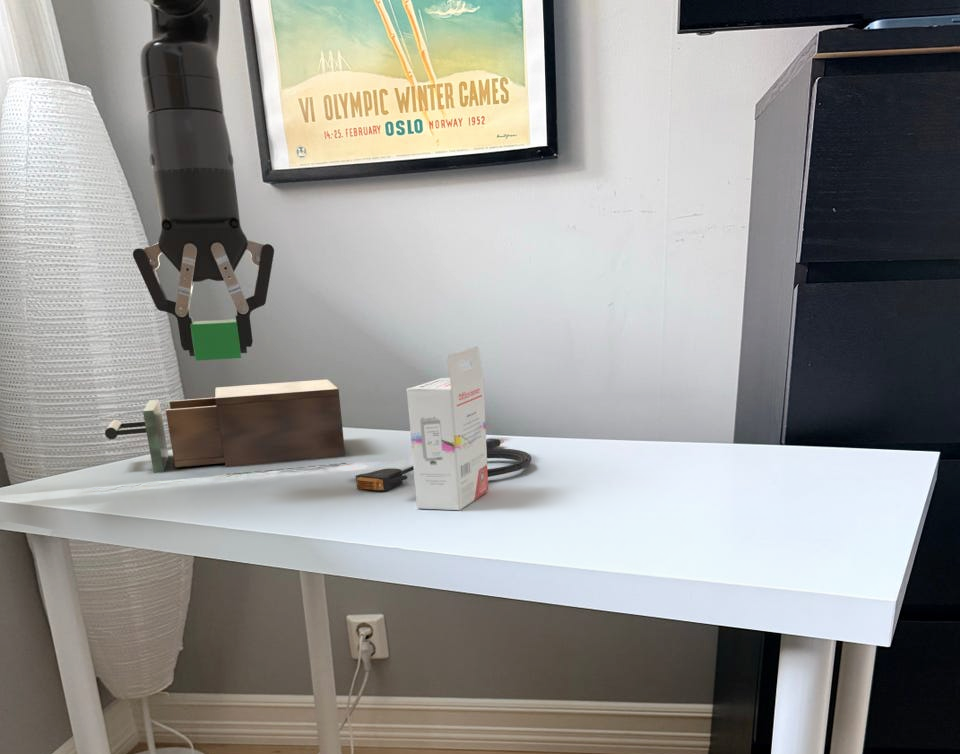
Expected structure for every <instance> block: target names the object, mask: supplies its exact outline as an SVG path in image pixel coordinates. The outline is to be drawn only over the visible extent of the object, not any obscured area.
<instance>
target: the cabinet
mask: <svg viewBox="0 0 960 754" xmlns="http://www.w3.org/2000/svg"><path fill="white" fill-rule="evenodd" d="M214 393H215V394H214V395H215V396H214V397H215V400H216V407H217V413H218V420H219V427H220V434H221V441H222V447H223V454H224V461H225V463H224V467H225V468H232V467H233V468H234V467H241V466H254V465H255V466H256V465H265V464H275V463H276V464H277V463H286V462H297V461H308V460H309V461H310V460H319V459H329V458H331V459H332V458H339V457H340V458H341V457H346V449H345V439H344V428H343V419H342V417H343V416H342V408H341V397H340V389H339V388H338V387H337V386H336V385H334V383H333V382H332V381H330V380H329V379H314V380H313V379H312V380H300V381H299V380H298V381H285V382H273V383H260V384H259V383H258V384H245V385H233V386H231V385H230V386H221V387H220V386H217V387H215V392H214ZM343 464H347V463H346V462H344V463H343V462H342V463H341V465H343ZM333 465H334V466H335V465H336V463H332V464H330V466H333ZM324 466H325V464H322V465H320V467H324ZM312 467H315V465H310V466H309V468H312ZM301 468H303V469H304V467H303V466H300V467H298V469H301ZM290 469H293V467H289V468H288V470H290ZM280 470H283V468H280V469H277V471H280ZM268 471H270V472H271V471H272V469H268V470H266V472H268ZM260 472H261V470H259V471H258V470H257V471H256V473H260ZM248 473H249V474H250V473H251V471H247V472H245V474H248ZM236 474H240V472H239V473H238V472H235V473H234V475H236ZM226 475H229V473H226Z"/></svg>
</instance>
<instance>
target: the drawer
mask: <svg viewBox="0 0 960 754" xmlns="http://www.w3.org/2000/svg"><path fill="white" fill-rule="evenodd" d="M142 414H143V415H142V416H143V421H142V420H140V421H129V422H127V421H126V422H122V421H120V420H119V419H113V420H112V421H111V423H110V424H109V425H108V426H107V428H106V429H105V430H104V435H105V437H106V438H107V439H108V440H115V439H116V438H117V437H118V436H124V435H138V434H146V438H147V443H148V448H149V454H150V460H151V465H152V471H153V474H156V473H164V472H165V470H166V466H167V463H168V459H169V456H170V455H169V450H168V444H167V438H166V432H165V426H164V421H163V414H162V409H161V404H160V399H149V401H148V402H147V404H146V405H145V407H144V408H143V410H142ZM165 415H166V420H167V421H166V422H167V427H168V433H169V438H170V445H171V451H172V457H173V461H174V462H173V463H174V467H175V468H185V467H196V466H207V465H218V464H225V461H224V454H223V447H222V441H221V434H220V427H219V420H218V413H217V407H216V400H215V396H214V397H203V398H190V399H177V400H169V409H165Z"/></svg>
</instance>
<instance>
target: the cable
mask: <svg viewBox="0 0 960 754" xmlns="http://www.w3.org/2000/svg"><path fill="white" fill-rule="evenodd" d="M504 443H505V441H504V439H501V438H486V448H487V459H503V460H513V461H516V463H513V464H510V465H505V466H500V467H494V468H487V472H488V478H491V477H496V476H501V475H506V474H511V473H514V472H518V471H520V470H522V469H524V468H526V467H527V466H528V465H530V464H531V462H532V455H531V454H529V453H528V452H526V451H523V450H520V449H514V448H513V449H512V448H497V447H500V446H501V444H504ZM413 471H414V467H413V465H412V466H410V467H408V468H405V469H403V470H402V468H395V467H393V468H391V467H390V468H389V467H388V468H383V469H378V470H374V471H370V472H365V473H360V474H356V475H355V481H356V482H355V484H356V489H357V490H366V491H372V492H383V493H384V492H385V493H386V492H388V491H390V490H392V489H394V488H396V487H398V486H401V485H402V484H404V483H403V481H406V480H408V476H407V475H406V474H407V473H410V472H413Z"/></svg>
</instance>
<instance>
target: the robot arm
mask: <svg viewBox="0 0 960 754" xmlns="http://www.w3.org/2000/svg"><path fill="white" fill-rule="evenodd" d="M144 2H147V3H148V4H149V6H150V13H151V39H152V40H150V41H148V42H146V43H145V44H144V45H143V47H142V49H141V51H140V55H139V58H140V62H139V63H140V74H141V75H140V76H141V81H142V89H143V94H144V95H143V96H144V102H145V103H144V104H145V109H146V114H147V128H148V130H147V133H148V134H147V135H148V147H149V154H150V155H149V161H150V166H151V168H152V173H153V174H152V175H153V181H154V187H155V188H154V189H155V195H156V200H157V208H158V214H159V220H160V234H159V237H158V240H157V243H155V244H152V245H149V246H146V247H143V248H140V247H139V248H135V249H134V250H133V252H132V257H133V259H134V262H135V264H136V266H137V269H138V271H139V274H140V276H141V277H142V280H143V281H144V284H145V286H146V289H147V290H148V293H149V295H150V297H151V299H152V301H153V303H154V307H155V308H156V309H157V310H158V311H160V312H163V313H168V314H171V315H173V316H174V317H175V318H176V320H177V324H178V325H177V327H178V333H179V339H180V346H181V348H182V349H183V351H188V352H189V357H195V353H194V346H193V340H192V333H191V326H190V325H191V324H192V323H193V322H194V319H193V316H191V313H190V306H191V300H192V295H193V288H194V283H199V282H201V283H202V282H204V281H207V280H211V281H215V282H224V283H225V286H226V289H227V290H228V293H229V296H230V298H231V300H232V302H233V304H234V307H235V309H236V314H235V319H236V321H237V328H238V336H239V343H240V351H241V354H247V353H248V348H251V347H252V346H253V342H254V340H253V333H252V325H251V313H252V312H253V311H254V310H256V309H258V308H261V307H263V306H265V305H266V303H267V299H268V298H267V297H268V291H269V286H270V279H271V273H272V267H273V261H274V257H275V256H274V255H275V248H274V246H273V245H271V244H270V243H266V244H262V243H259V242H255V241H252V240H248V238H247V236H246V235H245V232H244V231H243V229H242V225H241V220H240V219H241V218H240V209H239V204H238V203H239V202H238V201H239V200H238V193H237V186H236V177H235V169H234V157H233V153H232V144H231V139H230V135H229V131H228V127H227V126H228V125H227V122H226V117H225V109H224V102H223V94H222V93H223V92H222V86H221V85H222V84H221V77H220V72H219V66H218V58H219V57H218V56H219V49H220V48H219V46H220V34H221V33H220V31H221V29H220V28H221V0H144ZM246 251H247V252H249V254H250V255H251V262H252V264H253V265H254V266H258V267H257V268H258V269H257V274H256V280H255V286H254V291H253V295H251V296H249V297H247V298H246V297H245V295H244V293H243V290H242V288H241V285H240V283H239V281H238V278H237V276H236V274H235V271H236V269H237V267H238V266H239V264H240V262H241V260H242V258H243V256H244V255H245V253H246ZM162 254H163V255H164V257H165V258H166V259H167V260H168V261H169V262H170V263H171V265H172V266H173V267H174V268H175V269H176V270H177V271H178V273H179V280H178V285H177V293H176V301H175V300H172V299H169V298H168V296H167V294H166V292H165V289H164V288H163V285H162V283H161V281H160V279H159V276H158V275H157V271H156V270H158V269H159V267H160V265H161V263H160V256H161V255H162Z"/></svg>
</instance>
